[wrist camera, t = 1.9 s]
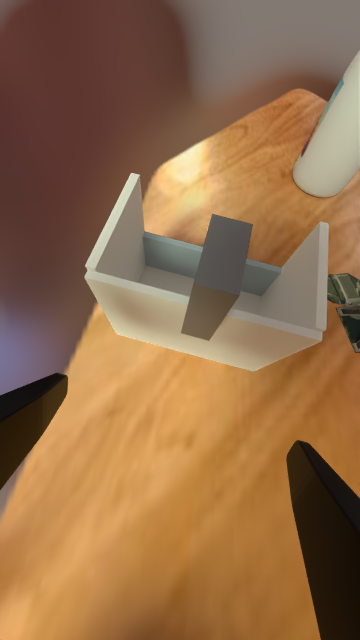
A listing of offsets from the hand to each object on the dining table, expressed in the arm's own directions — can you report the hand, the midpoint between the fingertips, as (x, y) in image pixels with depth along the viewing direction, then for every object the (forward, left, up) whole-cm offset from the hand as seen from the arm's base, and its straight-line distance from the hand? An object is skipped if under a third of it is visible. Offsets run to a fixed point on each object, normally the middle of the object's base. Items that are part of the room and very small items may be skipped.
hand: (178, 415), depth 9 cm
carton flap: (+5, +2, -12) cm, 13 cm away
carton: (+10, +4, -13) cm, 17 cm away
